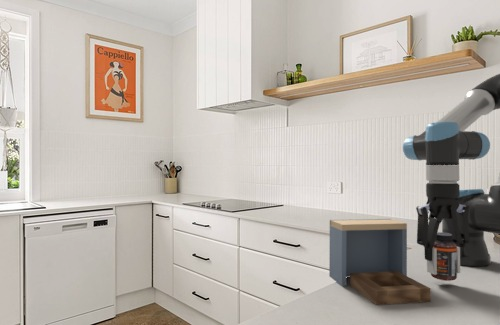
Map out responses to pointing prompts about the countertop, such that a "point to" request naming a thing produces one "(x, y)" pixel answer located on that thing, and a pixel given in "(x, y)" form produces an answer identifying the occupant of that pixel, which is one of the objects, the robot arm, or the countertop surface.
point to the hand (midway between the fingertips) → (443, 272)
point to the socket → (389, 287)
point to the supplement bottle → (445, 257)
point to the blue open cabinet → (367, 247)
